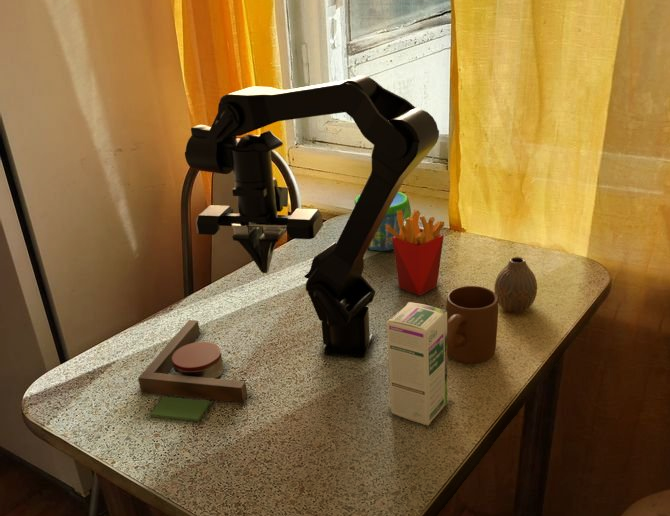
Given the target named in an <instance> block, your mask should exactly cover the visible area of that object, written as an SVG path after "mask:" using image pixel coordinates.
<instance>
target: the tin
mask: <svg viewBox="0 0 670 516" xmlns="http://www.w3.org/2000/svg"><path fill="white" fill-rule="evenodd" d="M222 356H223V355H222V349H221V347H220V346H219V345H218V344H217V343H214V342H211V341H194V342H193V343H190V344H187V345H184V346H182V347H181V348H179V349H178V350H176V351H175V352H174V354H173V356H172V362H173V365H174V366H173V369H174V375H183V376H193V377H204V378H214V379H219V377H221V376H222V374H223V372H224V362H223V357H222Z"/></svg>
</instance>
